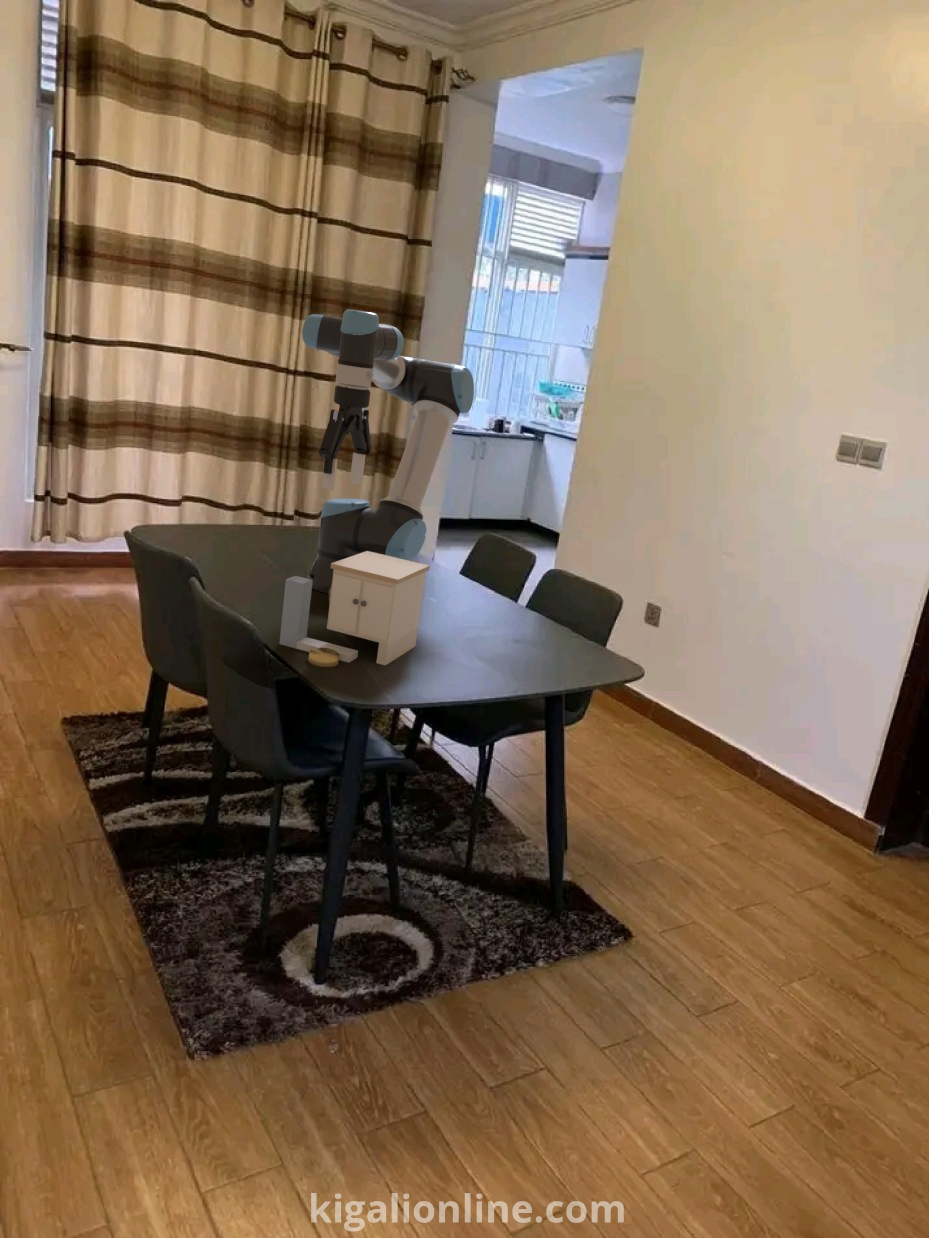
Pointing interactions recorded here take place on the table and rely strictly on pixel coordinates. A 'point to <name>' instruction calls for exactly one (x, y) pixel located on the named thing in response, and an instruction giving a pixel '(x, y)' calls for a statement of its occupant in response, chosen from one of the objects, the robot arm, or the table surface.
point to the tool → (303, 620)
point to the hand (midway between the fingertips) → (342, 485)
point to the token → (323, 657)
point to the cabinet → (378, 601)
